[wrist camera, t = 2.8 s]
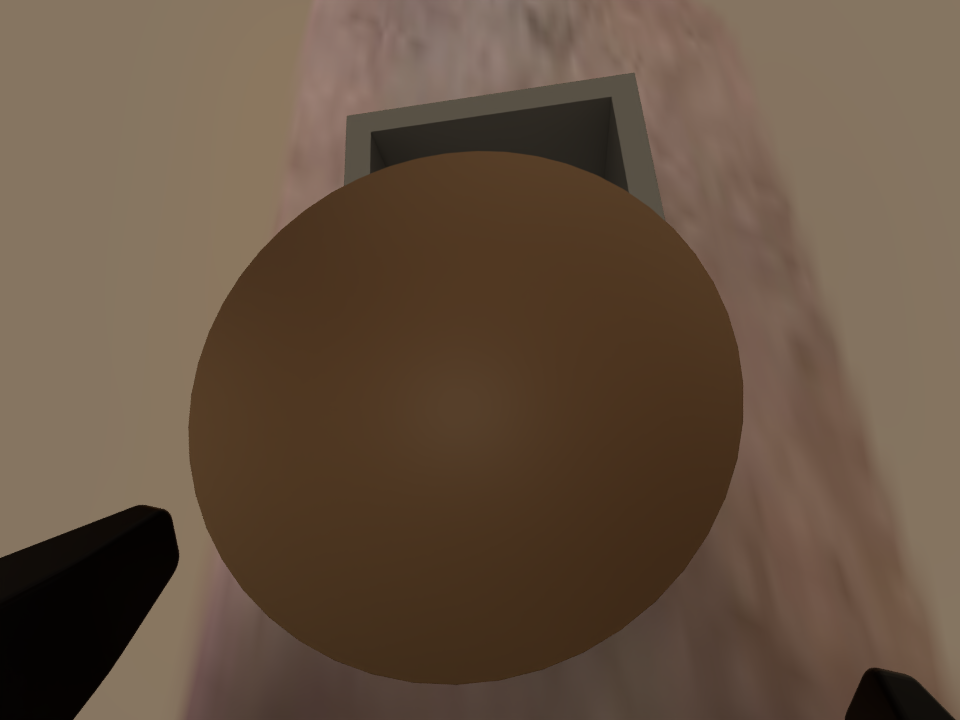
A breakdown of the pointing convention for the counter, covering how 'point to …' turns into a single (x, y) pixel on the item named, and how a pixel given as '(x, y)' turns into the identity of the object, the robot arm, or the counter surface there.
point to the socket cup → (519, 132)
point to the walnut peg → (466, 417)
